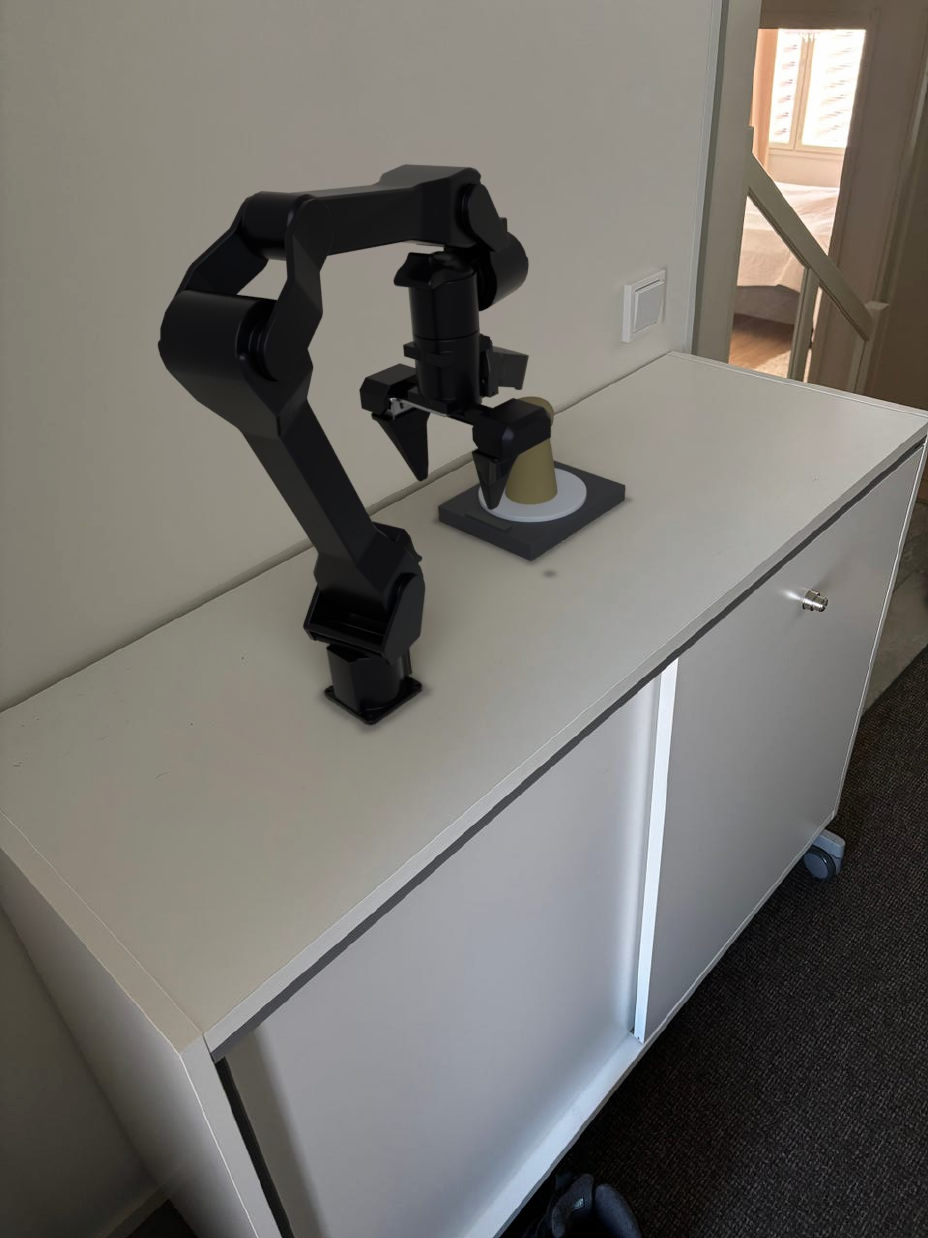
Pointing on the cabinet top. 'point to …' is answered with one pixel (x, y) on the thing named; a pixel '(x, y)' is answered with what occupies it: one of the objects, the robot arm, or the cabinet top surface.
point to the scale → (534, 512)
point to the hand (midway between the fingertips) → (456, 493)
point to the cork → (533, 469)
